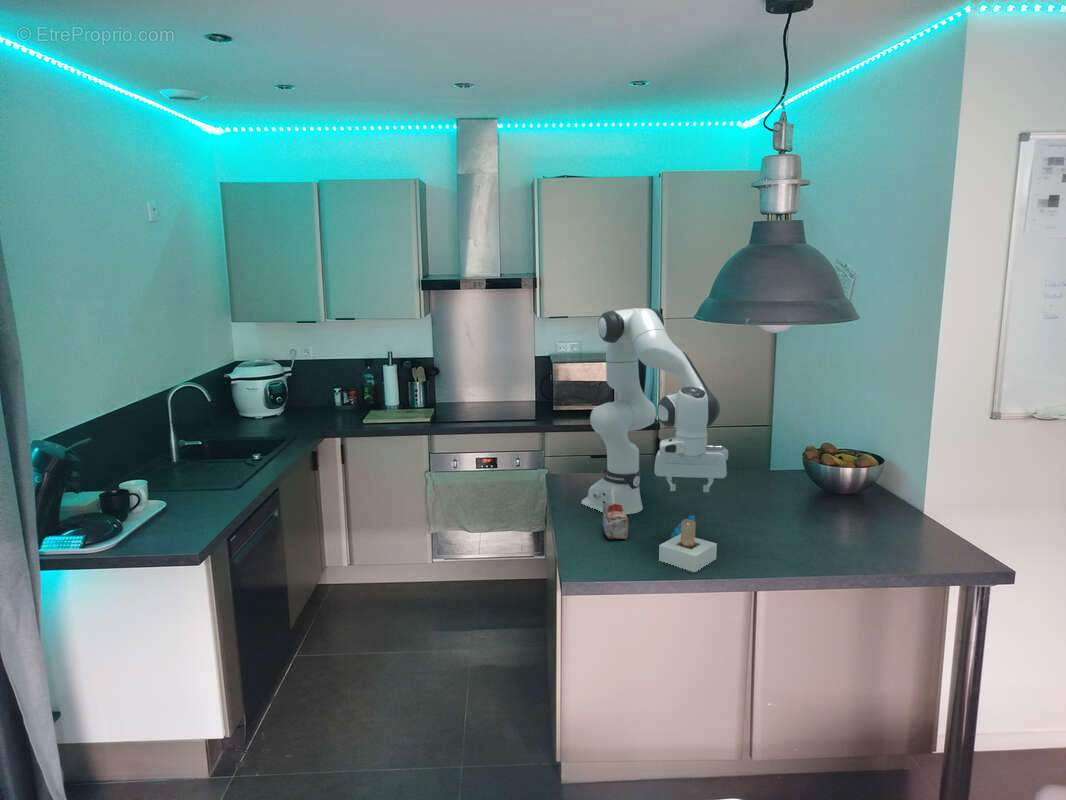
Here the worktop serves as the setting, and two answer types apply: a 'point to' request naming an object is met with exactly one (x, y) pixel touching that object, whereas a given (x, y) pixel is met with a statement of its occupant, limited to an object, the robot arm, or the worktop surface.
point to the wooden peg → (688, 533)
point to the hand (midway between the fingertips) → (689, 491)
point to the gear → (678, 530)
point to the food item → (615, 521)
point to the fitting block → (687, 553)
